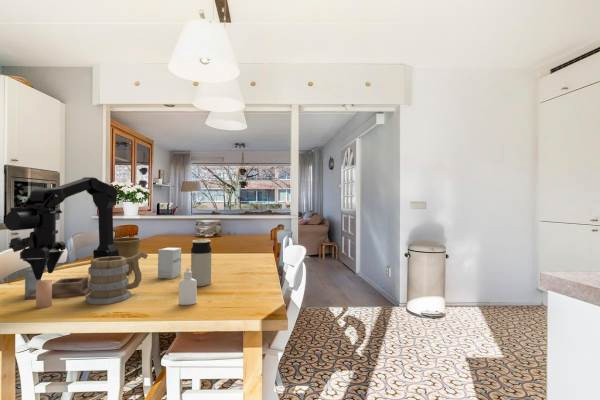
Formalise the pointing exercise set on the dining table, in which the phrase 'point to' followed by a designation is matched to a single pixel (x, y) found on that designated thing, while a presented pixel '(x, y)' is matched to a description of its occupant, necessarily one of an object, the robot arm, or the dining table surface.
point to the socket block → (57, 286)
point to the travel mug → (201, 262)
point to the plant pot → (127, 248)
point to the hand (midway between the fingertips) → (44, 276)
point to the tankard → (112, 278)
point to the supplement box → (169, 262)
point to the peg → (43, 293)
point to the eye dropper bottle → (187, 289)
